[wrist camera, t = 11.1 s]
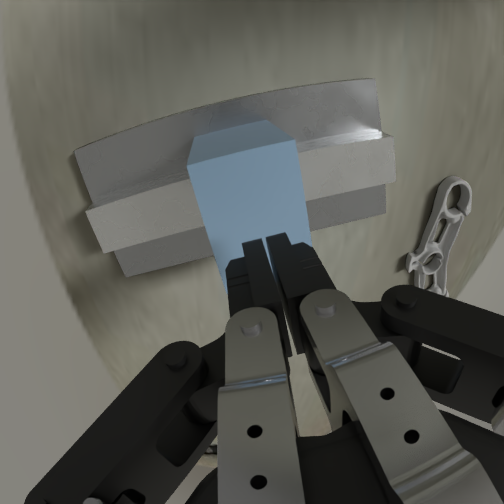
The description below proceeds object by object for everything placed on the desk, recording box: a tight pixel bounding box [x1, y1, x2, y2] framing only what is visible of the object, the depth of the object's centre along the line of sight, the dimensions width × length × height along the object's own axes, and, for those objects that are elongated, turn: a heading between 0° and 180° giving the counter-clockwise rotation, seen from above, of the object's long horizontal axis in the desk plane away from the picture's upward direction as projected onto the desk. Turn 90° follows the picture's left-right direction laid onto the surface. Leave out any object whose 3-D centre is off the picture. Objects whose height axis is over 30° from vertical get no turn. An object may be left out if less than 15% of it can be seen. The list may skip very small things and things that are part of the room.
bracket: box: [406, 176, 472, 297], centre depth 26 cm, size 8×2×15 cm
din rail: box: [74, 78, 396, 277], centre depth 20 cm, size 20×10×4 cm, turn 102°
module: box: [186, 120, 312, 294], centre depth 17 cm, size 4×7×7 cm
